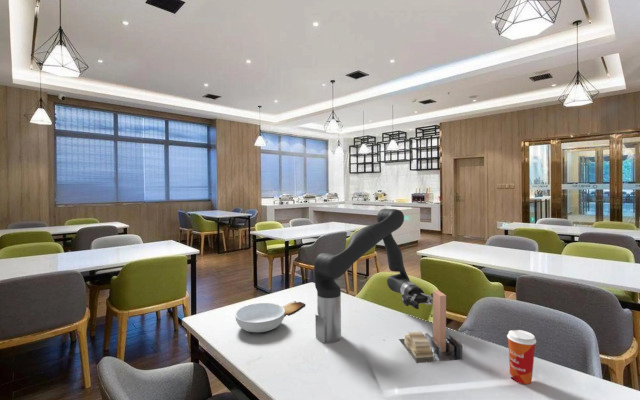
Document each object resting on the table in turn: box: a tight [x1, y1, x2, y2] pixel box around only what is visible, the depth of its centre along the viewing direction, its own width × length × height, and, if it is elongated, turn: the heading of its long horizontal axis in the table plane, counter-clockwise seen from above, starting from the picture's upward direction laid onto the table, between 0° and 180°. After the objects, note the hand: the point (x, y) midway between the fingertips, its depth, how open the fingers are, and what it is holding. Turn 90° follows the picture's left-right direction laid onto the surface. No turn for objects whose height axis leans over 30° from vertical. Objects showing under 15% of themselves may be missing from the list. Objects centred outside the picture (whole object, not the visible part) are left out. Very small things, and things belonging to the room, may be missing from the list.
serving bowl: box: [234, 302, 285, 333], centre depth 141 cm, size 21×21×7 cm
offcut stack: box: [403, 331, 433, 358], centre depth 118 cm, size 11×6×5 cm, turn 7°
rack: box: [398, 330, 464, 364], centre depth 119 cm, size 17×16×6 cm
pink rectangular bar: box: [432, 289, 447, 352], centre depth 119 cm, size 6×2×20 cm, turn 7°
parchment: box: [282, 300, 306, 317], centre depth 160 cm, size 25×10×1 cm, turn 146°
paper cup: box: [506, 329, 537, 385], centre depth 101 cm, size 8×8×14 cm
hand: (428, 306), depth 127 cm, fingers open, 8 cm apart
